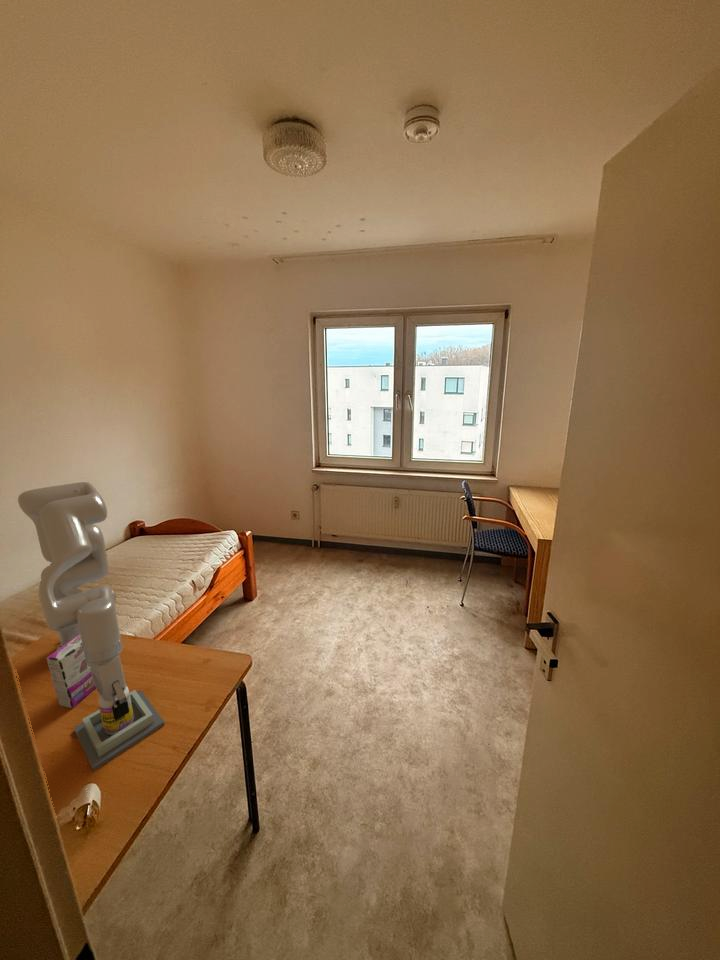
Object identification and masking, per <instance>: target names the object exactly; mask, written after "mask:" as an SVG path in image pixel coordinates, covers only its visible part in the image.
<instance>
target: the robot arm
mask: <svg viewBox="0 0 720 960" xmlns="http://www.w3.org/2000/svg"><path fill="white" fill-rule="evenodd" d="M17 501H18V502H17V503H18V505H19V508H20V510H21V511H22V512H23V513H24V514H25V515H26V516H27V517H28V518H29V519H30V520H31V522H33V523H34V526H35V531H36V533H37V537H38V542H39V546H40V547H39V548H40V551H41V554H42V557H43V558H44V560H45V561H47V562H48V563H50V564H49V565H47V566H46V567H45V568H43V569H42V571H41V573H40V582H39V587H38V597H39V602H40V605H41V609H42V612H43V615H44V619H45V622H46V624H47V627H48V628H49V629H50V630H51V631H54V632H57V633H58V637H59V642H60V644H59V645H58V646H57V648H56V650H58V649H59V648H61V647H62V646H63V645H65V644H66V643H68V642H69V641H70V640H72V639H73V638H75V637H76V636H77V635H79V634H80V636H81V640H82V645H83V649H84V653H85V658H86V662H87V663H88V664H90V666H91V672H92V679H93V683H94V685H95V687H96V688H95V689H96V690H97V692H98V694H99V697H100V696H101V697H102V699H103V700H106V701H107V700H108V699H110V698H111V701H112V704H113V706H112V710H113V715H114V719H115V720H117V719H119V718H121V717H122V716H124V715H126V714H127V713H129V707H128V702H127V698H126V696H125V693H124V690H125V689H126V686H127V683H126V679H125V678H126V677H125V673H124V668H123V665H122V661H121V656H120V654H121V653H122V652H123V647H124V646H123V643H122V637H121V632H120V628H119V621H118V617H117V611H116V604H117V596H116V593H115V591H114V589H113V588H112V587H111V586H108V585H104V584H103V585H99V586H96V587H93V588H92V587H91V588H90V589H87V590H82V589H80V588H78V587H81V586H84V585H87V584H90V583H93V582H94V583H95V582H96V581H99V580H102V579H104V578H106V577H107V576H108V574H109V562H108V556H107V551H106V550H107V548H106V543H105V538H104V533H103V532H102V530H101V529H100V527H99V526H98V525H95V524H99V523H102V522H105V521H106V519H107V517H108V509H107V506H106V503H105V501H104V498H103V497H102V495H101V494H100V492H99V491H98V490H97V489H96V488H95V486H94V485H92V483H90V482H86V481H81V482H73V483H67V484H61V485H53V486H46V487H42V488H41V487H39V488H35V489H34V488H33V489H29V490H26V491H25V490H24V491H23V492H21V494H19V496H18V498H17ZM113 690H114V691H115V693H114V694H112V692H113ZM115 695H117V698H118V700H117V701H116V702H115V699H114V696H115Z"/></svg>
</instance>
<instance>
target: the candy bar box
mask: <svg viewBox="0 0 720 960" xmlns="http://www.w3.org/2000/svg"><path fill="white" fill-rule="evenodd" d="M45 659H46V662H47V667H48V669H49V672H50V673H49V674H50V676H51V680H52V683H53V687H54V690H55V694H56V698H57V702H58V704H59V705H58V706H60V707H65V708H69V709H74V708H75V707H77V705H78V704H79V703H81V702H82V701H83V700H85V698H86V697H87V696H88V695H89V694H91V693H92V692H93V691H94V690H95V689H96V687H95V685H94V683H93V679H92V672H91V666H90V664H88V663H87V662H86V658H85V653H84V649H83V645H82V640H81V636H80V634H79V635H77V636H76V637H75V638H73V639H72V640H70V641H69V642H68V643H66V644H65V645H63V646H62V647H61V648H59V649H58V650H57V649H56V650H55V651H54V652H52V653H51V654H49V655H48V656H47V657H45Z"/></svg>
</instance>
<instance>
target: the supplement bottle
mask: <svg viewBox="0 0 720 960" xmlns="http://www.w3.org/2000/svg"><path fill="white" fill-rule="evenodd" d="M114 693H115V691H114V690H113V692H112V694H114ZM124 693H125V696H126V698H127V702H128V707H129V713H127V714H126V715H124V716H122V717H121V718H119V719H117V720H115V719H114V715H113V710H112V706H113V704H112V701H111V698H110V699H108V700H107V701H106V700H103V699H102V697H101V696H100V695H99V696H98V701H97V703H98V708H99V709H100V714H101V719H102V723H103V728H104V731H105V733H106V734H109V735H114V734H116V733H118V732H119V731H121V730H123V729H124V728H126V727H127V726H129V725H131V723H132V722H133V718H134V715H133V709H132V704H131V699H130V690H129V687H128V686H127V685H126V689H125V690H124ZM114 699H115V702H116V701H117V700H118V698H117V695H115V696H114ZM99 709H98V710H99Z"/></svg>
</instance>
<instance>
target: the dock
mask: <svg viewBox="0 0 720 960" xmlns="http://www.w3.org/2000/svg"><path fill="white" fill-rule="evenodd" d="M129 693H130V699H131V704H132V709H133V715H134V718H133V722H132V723H131V725H129V726H127V727H126V728H124V729H123V730H121V731H119V732H118V733H116V734H114V735H109V734H106V733H105V731H104V728H103V723H102V719H101V714H100V709H97V710H96V711H94V712H92V713H90V714H89V715H87V716H85V717H83V718H82V722H81V723H79V724H77V725H76V726H74V727H73V729H74V732H75V734H76V736H77V739H78V741H79V744H80V745H81V748H82V750H83V753H84V755H85V756H86V758H87V760H88V763H89V765H90V766H91V769H92V771H93V772H95V771H96V770H97V769H99V768H101V767H103V766H104V765H105V764H107V763H108V762H110V761H111V760H112V759H115V758H116V757H118V756H119V755H121V754H122V753H123V752H125V751H126V750H128V749H130V748H131V747H133V746H134V745H135V744H138V742H140V741H142V740H143V739H145V738H147V737H148V736H150V734H151V735H152V734H153V733H154V732H156V731H157V730H158V729H160V728H161V727H163V726H165V721H164V719H163V718H162V717H161V715H160V714H159V713H158V711H157V710H156V708H155V706H153V704H152V703H151V701H150V700H149V699H148V698H147V696H146V695H145V694H144V692H143V690H142V689H140V690H136V689H134V690H131V691H129Z"/></svg>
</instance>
